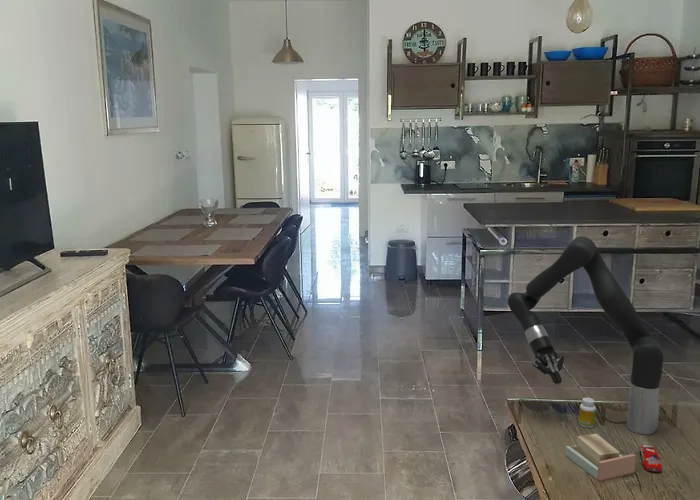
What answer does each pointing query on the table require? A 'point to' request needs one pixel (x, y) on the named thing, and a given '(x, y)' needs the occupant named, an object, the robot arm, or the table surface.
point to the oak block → (595, 448)
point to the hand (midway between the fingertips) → (558, 383)
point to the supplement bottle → (587, 413)
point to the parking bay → (604, 465)
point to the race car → (650, 458)
